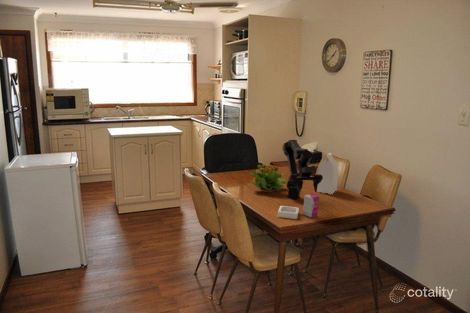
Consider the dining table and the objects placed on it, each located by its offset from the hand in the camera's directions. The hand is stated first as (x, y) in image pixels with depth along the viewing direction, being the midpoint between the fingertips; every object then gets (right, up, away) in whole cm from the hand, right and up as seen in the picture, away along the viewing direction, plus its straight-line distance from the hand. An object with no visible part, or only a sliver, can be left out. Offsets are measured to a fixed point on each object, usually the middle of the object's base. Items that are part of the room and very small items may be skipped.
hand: (308, 191), depth 206 cm
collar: (-12, -12, -4) cm, 17 cm away
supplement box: (0, -13, -4) cm, 13 cm away
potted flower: (-20, -3, +41) cm, 46 cm away
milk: (+21, -4, +45) cm, 50 cm away
